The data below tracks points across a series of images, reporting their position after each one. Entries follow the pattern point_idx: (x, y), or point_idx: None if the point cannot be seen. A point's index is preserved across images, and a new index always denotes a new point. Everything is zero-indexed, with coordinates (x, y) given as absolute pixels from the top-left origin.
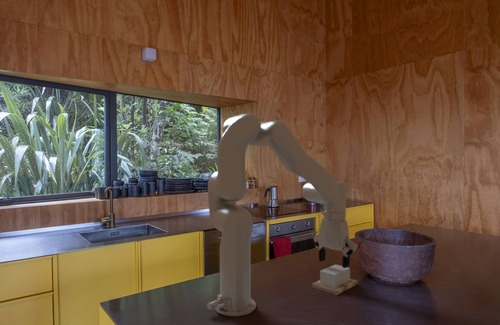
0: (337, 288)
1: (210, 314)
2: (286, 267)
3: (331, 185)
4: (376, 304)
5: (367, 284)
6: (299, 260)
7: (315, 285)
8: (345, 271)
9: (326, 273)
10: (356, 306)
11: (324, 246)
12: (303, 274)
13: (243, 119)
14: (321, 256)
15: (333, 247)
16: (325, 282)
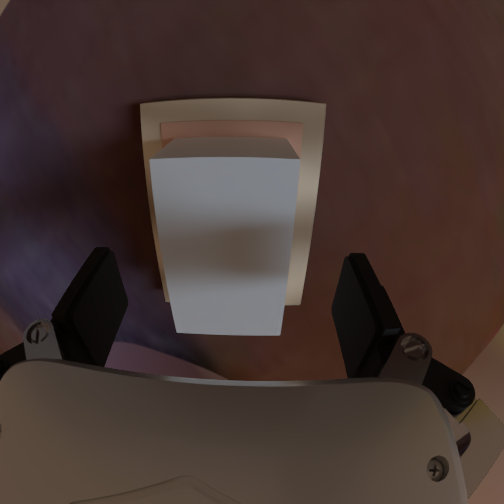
0: (162, 146)
1: None
2: (495, 257)
3: None
4: (14, 171)
5: (149, 313)
6: (464, 335)
7: (296, 100)
8: (169, 286)
9: (231, 154)
10: (36, 90)
11: (320, 388)
12: (429, 237)
13: None
14: (356, 293)
15: (112, 394)
16: (243, 139)
